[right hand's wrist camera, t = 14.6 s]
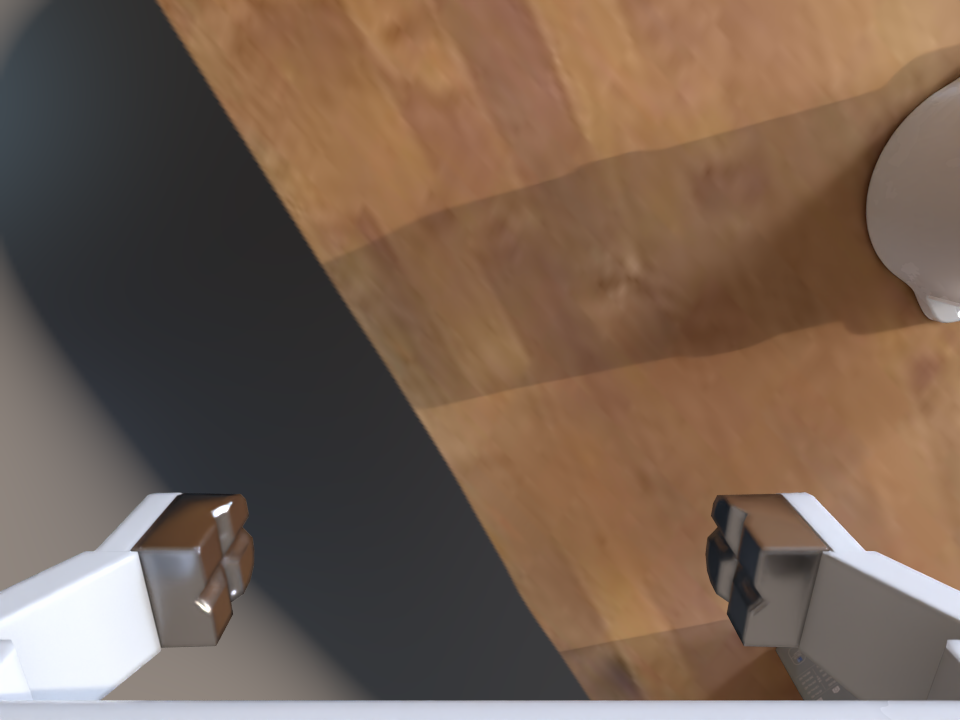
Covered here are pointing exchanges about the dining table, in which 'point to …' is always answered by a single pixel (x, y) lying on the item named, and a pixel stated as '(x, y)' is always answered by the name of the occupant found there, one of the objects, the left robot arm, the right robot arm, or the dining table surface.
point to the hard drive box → (811, 677)
